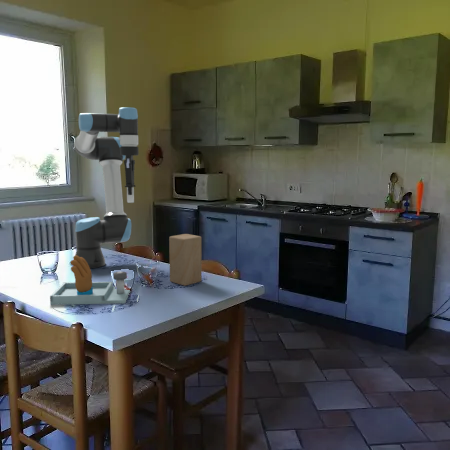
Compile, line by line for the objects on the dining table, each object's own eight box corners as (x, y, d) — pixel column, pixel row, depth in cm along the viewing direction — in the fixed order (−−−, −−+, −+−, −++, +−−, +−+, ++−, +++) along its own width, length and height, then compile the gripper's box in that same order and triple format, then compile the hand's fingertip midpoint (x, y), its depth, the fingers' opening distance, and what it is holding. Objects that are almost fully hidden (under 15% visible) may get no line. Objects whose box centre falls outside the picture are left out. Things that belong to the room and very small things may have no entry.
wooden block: (169, 281, 196) (168, 236, 193) (186, 277, 204) (186, 233, 201) (184, 286, 190) (184, 239, 187) (202, 281, 197) (201, 236, 194)
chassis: (64, 290, 183) (63, 273, 182) (131, 289, 185) (131, 272, 184) (50, 304, 165) (49, 286, 164) (125, 303, 167) (124, 285, 166)
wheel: (114, 276, 177) (114, 270, 177) (127, 276, 178) (127, 270, 177) (112, 280, 172) (112, 273, 172) (125, 279, 173) (125, 273, 172)
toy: (83, 288, 182) (81, 251, 179) (99, 289, 180) (98, 252, 178) (67, 297, 170) (65, 258, 168) (84, 298, 169) (82, 259, 166)
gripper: (122, 146, 194) (123, 200, 198) (117, 145, 181) (119, 204, 185) (140, 146, 195) (141, 200, 198) (136, 145, 182) (137, 204, 185)
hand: (130, 202), depth 192 cm, fingers closed
